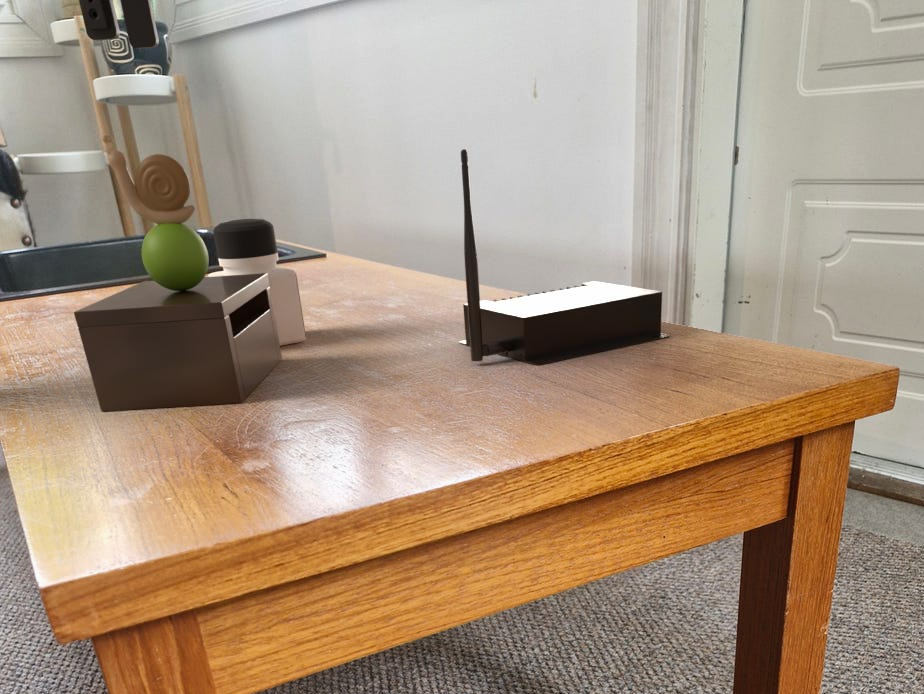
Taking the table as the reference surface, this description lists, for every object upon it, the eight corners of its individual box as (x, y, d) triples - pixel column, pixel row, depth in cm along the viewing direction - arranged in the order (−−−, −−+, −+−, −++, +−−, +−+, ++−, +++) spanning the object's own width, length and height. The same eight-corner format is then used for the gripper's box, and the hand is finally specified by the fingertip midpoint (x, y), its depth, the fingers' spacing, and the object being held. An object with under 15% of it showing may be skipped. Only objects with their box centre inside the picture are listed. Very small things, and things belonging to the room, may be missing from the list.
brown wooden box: (101, 411, 75) (73, 311, 71) (163, 366, 89) (143, 281, 85) (241, 403, 75) (221, 302, 71) (282, 359, 88) (267, 272, 84)
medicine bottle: (307, 341, 95) (288, 217, 89) (244, 353, 92) (220, 225, 86) (281, 332, 101) (261, 215, 95) (220, 343, 97) (195, 222, 91)
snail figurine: (151, 288, 80) (115, 135, 74) (221, 283, 80) (191, 129, 74) (130, 298, 76) (89, 135, 70) (204, 293, 75) (171, 129, 69)
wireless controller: (584, 317, 97) (583, 136, 88) (673, 336, 86) (681, 131, 78) (421, 349, 88) (403, 151, 80) (498, 373, 78) (486, 148, 69)
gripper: (56, -204, 67) (113, 54, 75) (-45, -277, 55) (36, 40, 63) (154, -213, 67) (201, 47, 75) (74, -289, 54) (141, 32, 63)
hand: (126, 43), depth 69 cm, fingers open, 8 cm apart
